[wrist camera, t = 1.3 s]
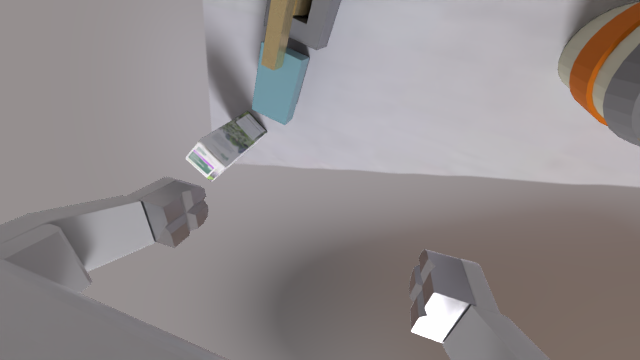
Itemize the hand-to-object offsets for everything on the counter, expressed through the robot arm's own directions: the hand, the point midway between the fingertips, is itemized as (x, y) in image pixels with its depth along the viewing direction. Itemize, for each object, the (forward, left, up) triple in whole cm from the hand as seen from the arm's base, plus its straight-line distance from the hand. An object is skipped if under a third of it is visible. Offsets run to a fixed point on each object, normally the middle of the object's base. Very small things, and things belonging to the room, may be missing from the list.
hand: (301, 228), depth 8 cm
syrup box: (+21, -19, -34) cm, 44 cm away
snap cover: (+7, -13, -29) cm, 33 cm away
